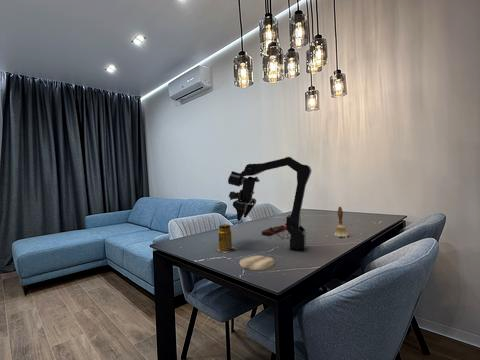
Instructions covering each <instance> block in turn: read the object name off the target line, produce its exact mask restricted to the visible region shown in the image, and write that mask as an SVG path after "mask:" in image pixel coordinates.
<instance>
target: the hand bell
mask: <svg viewBox="0 0 480 360" xmlns="http://www.w3.org/2000/svg"><path fill="white" fill-rule="evenodd" d="M343 214H344V213H343V209H342V206H338V208H337V217H338V225H337V226H336V228H335V229H336V230H335V233H333V235H335V236H347V235H349V233H348V232H347V229H346V226H345V225H344V224H343V216H344V215H343Z"/></svg>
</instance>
